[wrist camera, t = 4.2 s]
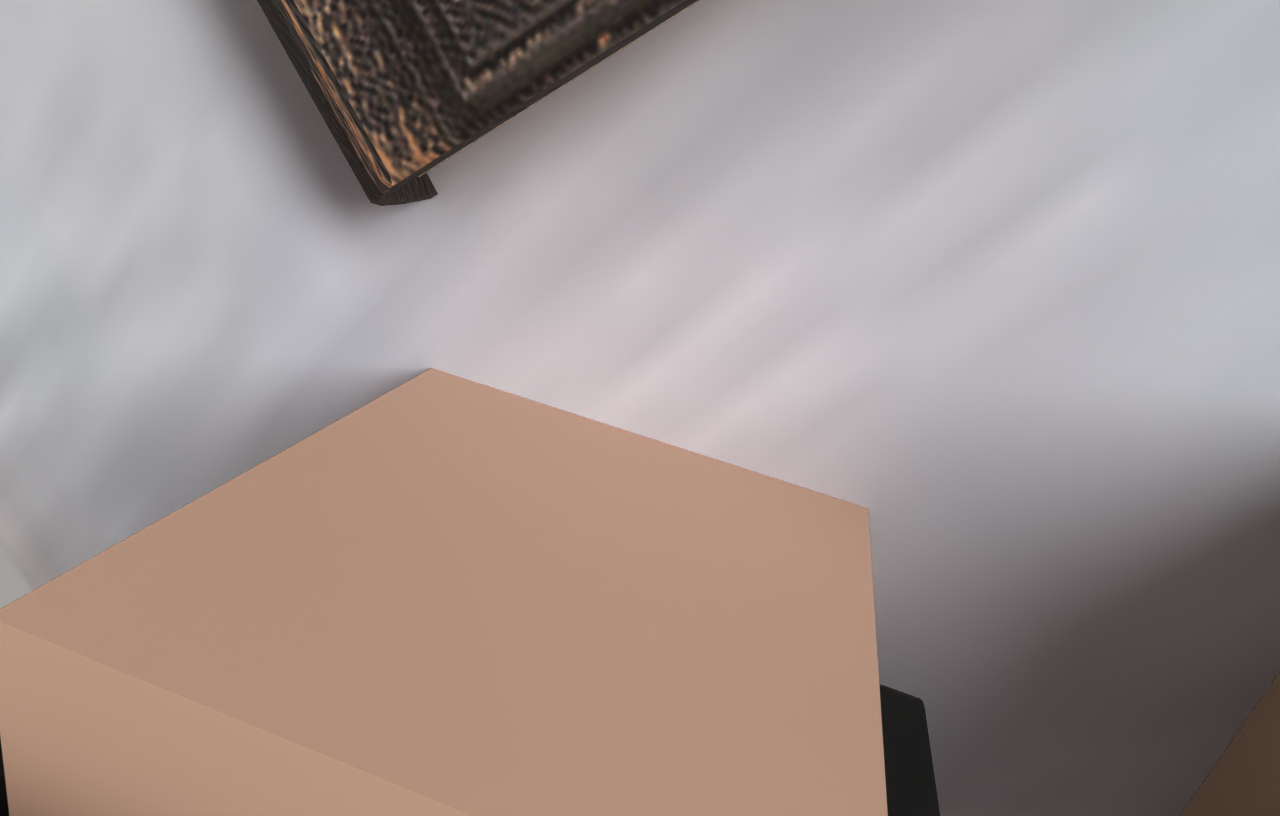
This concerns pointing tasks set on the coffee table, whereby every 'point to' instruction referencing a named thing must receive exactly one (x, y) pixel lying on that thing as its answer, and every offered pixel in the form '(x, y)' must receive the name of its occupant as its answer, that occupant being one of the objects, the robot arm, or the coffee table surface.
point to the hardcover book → (442, 71)
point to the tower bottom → (1246, 767)
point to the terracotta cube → (459, 634)
